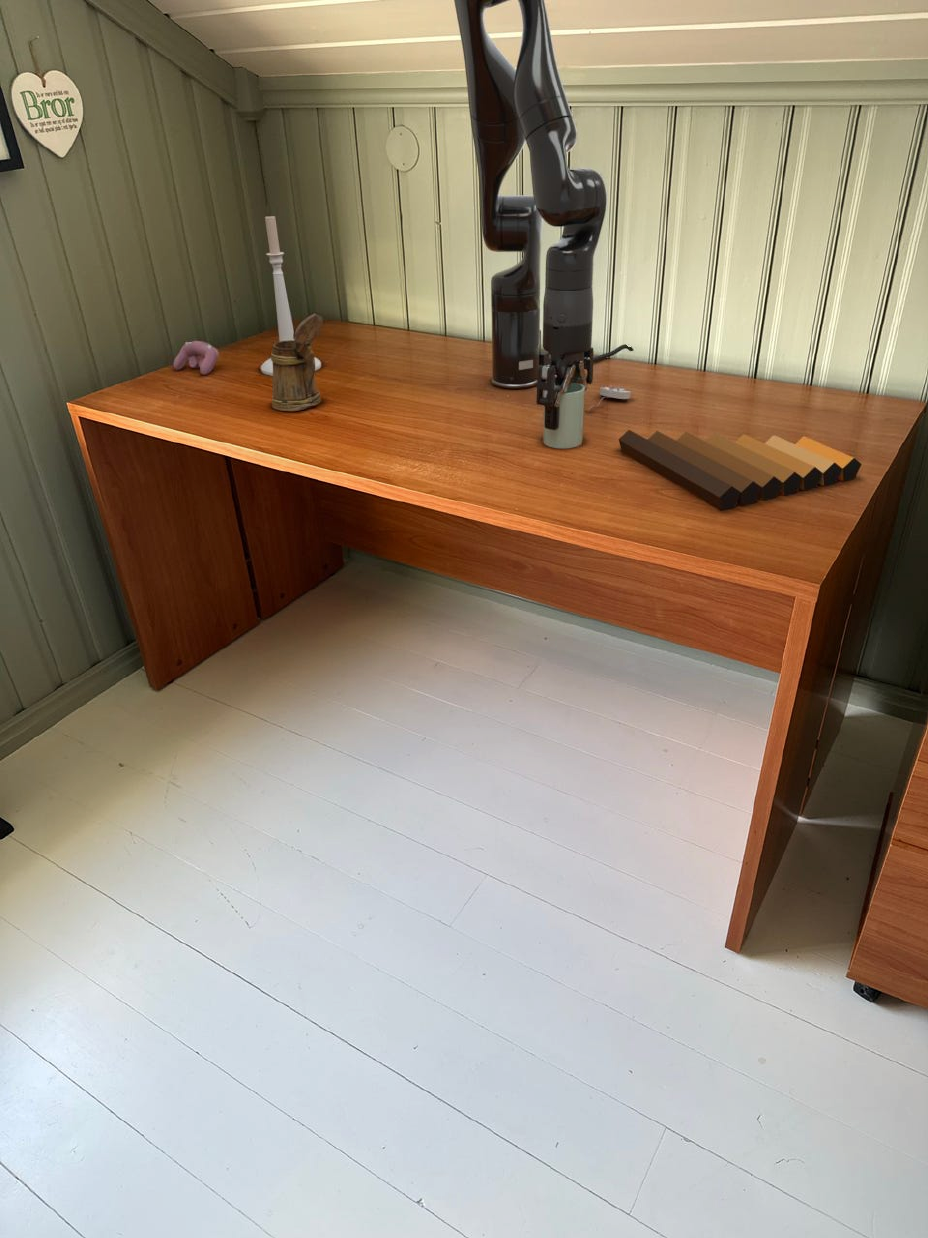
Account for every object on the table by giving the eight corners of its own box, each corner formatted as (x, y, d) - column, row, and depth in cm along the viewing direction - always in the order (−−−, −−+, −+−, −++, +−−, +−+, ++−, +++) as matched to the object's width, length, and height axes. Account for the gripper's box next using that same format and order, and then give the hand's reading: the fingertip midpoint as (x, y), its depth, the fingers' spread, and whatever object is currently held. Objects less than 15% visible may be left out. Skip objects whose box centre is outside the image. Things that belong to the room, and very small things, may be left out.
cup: (555, 432, 142) (556, 379, 137) (589, 438, 139) (591, 384, 134) (535, 444, 138) (536, 389, 133) (570, 451, 134) (572, 395, 130)
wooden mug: (307, 420, 151) (293, 316, 142) (263, 405, 159) (247, 306, 150) (345, 407, 157) (334, 306, 147) (300, 393, 165) (287, 297, 155)
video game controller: (218, 379, 181) (224, 345, 179) (202, 374, 177) (207, 340, 176) (187, 373, 185) (192, 340, 184) (170, 368, 181) (175, 335, 180)
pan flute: (617, 452, 133) (717, 511, 114) (619, 431, 132) (720, 488, 112) (744, 426, 141) (858, 477, 122) (747, 406, 140) (863, 455, 120)
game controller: (633, 395, 157) (634, 381, 156) (619, 415, 148) (620, 400, 147) (603, 392, 159) (604, 379, 158) (587, 412, 150) (588, 398, 149)
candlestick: (333, 363, 182) (315, 211, 166) (294, 379, 173) (272, 219, 157) (288, 356, 188) (267, 208, 172) (248, 371, 179) (222, 217, 163)
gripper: (568, 305, 135) (565, 404, 143) (522, 324, 125) (522, 430, 133) (611, 310, 131) (605, 411, 140) (567, 330, 121) (563, 438, 130)
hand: (564, 420), depth 136 cm, fingers open, 8 cm apart
